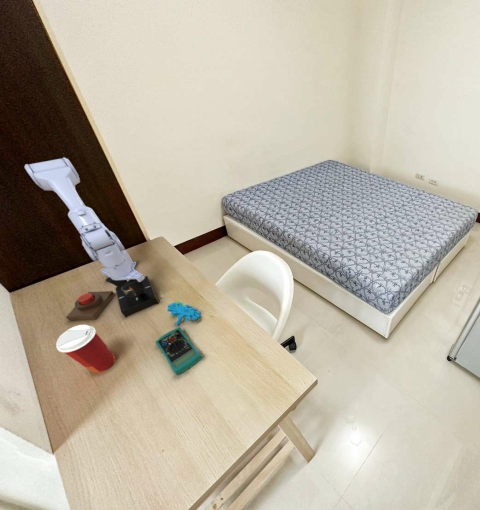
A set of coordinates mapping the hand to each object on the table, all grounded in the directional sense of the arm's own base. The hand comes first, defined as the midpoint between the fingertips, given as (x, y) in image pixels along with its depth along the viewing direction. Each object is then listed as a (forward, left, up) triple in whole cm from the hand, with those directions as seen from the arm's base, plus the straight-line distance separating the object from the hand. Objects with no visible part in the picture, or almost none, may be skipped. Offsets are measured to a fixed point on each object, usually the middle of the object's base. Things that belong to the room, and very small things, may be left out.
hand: (134, 291), depth 92 cm
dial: (0, 0, 0) cm, 0 cm away
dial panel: (0, 0, -3) cm, 3 cm away
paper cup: (+25, -4, -4) cm, 26 cm away
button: (0, -14, 0) cm, 14 cm away
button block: (0, -14, -3) cm, 14 cm away
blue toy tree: (+15, +17, -4) cm, 23 cm away
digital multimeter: (+28, +16, -4) cm, 32 cm away
